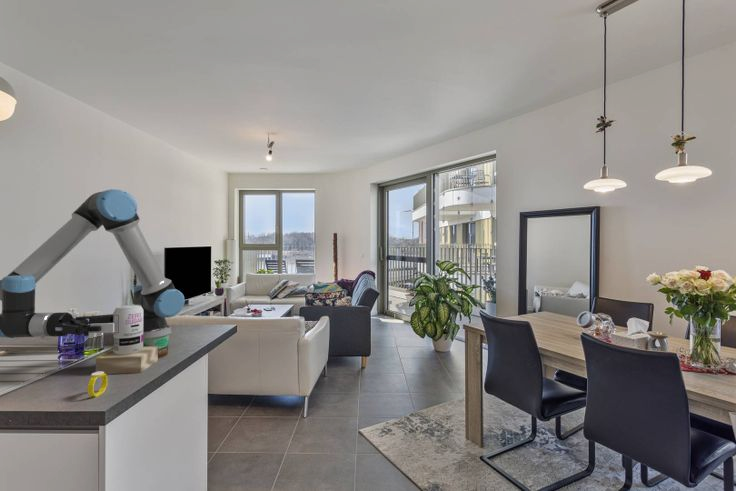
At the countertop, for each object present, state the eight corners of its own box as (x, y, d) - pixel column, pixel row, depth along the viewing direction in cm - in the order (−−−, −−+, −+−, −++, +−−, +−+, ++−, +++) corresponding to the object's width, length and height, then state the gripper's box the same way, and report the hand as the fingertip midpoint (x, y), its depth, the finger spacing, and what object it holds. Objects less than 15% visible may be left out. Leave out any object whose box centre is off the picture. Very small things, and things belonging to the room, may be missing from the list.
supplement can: (125, 348, 122) (125, 304, 121) (148, 348, 121) (148, 304, 121) (106, 355, 113) (107, 308, 113) (132, 355, 113) (132, 308, 113)
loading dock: (117, 361, 122) (117, 346, 122) (157, 360, 124) (157, 345, 124) (95, 374, 111) (95, 357, 111) (140, 372, 112) (141, 356, 112)
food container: (153, 362, 122) (153, 333, 122) (138, 360, 124) (138, 332, 124) (179, 351, 134) (179, 325, 134) (165, 350, 136) (165, 324, 136)
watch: (95, 400, 93) (95, 378, 93) (84, 400, 93) (83, 378, 93) (110, 389, 99) (109, 368, 99) (100, 389, 99) (99, 368, 99)
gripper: (78, 327, 126) (143, 325, 129) (21, 347, 101) (102, 345, 105) (78, 306, 126) (143, 305, 129) (21, 321, 101) (103, 319, 105)
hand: (125, 323), depth 117 cm, fingers open, 13 cm apart
